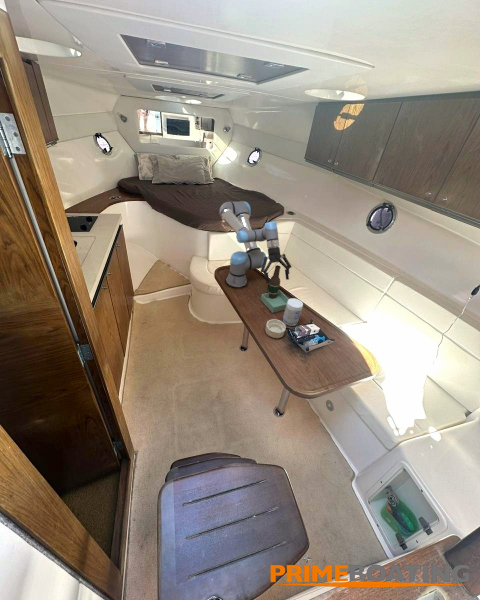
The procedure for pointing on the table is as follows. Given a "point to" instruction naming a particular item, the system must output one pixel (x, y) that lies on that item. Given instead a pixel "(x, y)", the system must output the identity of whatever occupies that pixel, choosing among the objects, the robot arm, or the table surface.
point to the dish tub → (275, 302)
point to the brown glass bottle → (274, 283)
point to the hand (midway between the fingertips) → (277, 281)
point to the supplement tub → (292, 312)
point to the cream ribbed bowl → (275, 328)
